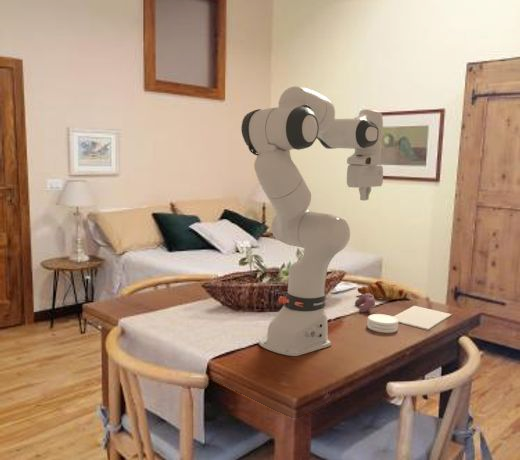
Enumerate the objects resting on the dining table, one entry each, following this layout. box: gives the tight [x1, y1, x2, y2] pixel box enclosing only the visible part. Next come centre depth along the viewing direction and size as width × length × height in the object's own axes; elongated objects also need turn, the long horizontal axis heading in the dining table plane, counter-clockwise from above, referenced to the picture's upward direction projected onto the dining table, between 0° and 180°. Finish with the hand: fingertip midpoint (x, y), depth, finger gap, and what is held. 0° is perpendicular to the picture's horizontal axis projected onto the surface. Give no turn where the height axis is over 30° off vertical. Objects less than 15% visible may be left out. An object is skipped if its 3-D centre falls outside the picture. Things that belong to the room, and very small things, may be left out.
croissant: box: [357, 280, 412, 301], centre depth 207 cm, size 21×10×8 cm, turn 85°
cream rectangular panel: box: [393, 305, 452, 331], centre depth 182 cm, size 22×14×1 cm, turn 141°
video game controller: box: [354, 293, 376, 313], centre depth 190 cm, size 10×5×7 cm, turn 0°
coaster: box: [366, 313, 399, 334], centre depth 170 cm, size 10×10×4 cm
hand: (364, 200), depth 175 cm, fingers closed
